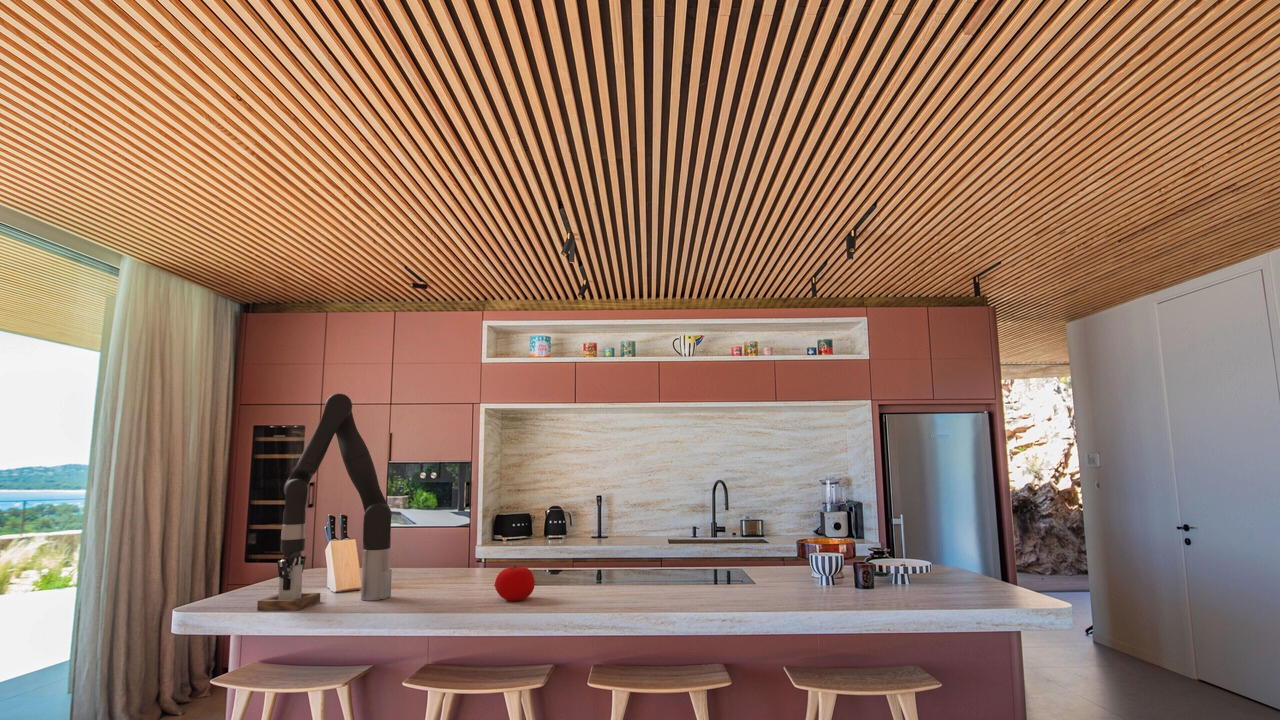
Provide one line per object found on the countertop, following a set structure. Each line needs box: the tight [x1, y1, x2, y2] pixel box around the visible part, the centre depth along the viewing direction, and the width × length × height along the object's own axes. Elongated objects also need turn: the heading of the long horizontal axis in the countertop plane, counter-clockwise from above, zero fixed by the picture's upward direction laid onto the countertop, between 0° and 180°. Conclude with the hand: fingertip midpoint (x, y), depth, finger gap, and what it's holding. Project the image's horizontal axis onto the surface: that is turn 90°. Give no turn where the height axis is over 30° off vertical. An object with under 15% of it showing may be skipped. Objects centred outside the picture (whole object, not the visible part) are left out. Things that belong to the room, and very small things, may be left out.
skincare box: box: [278, 565, 303, 600], centre depth 240 cm, size 6×4×12 cm
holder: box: [256, 592, 321, 612], centre depth 239 cm, size 14×14×3 cm
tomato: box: [494, 564, 536, 602], centre depth 246 cm, size 13×14×12 cm
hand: (290, 588), depth 240 cm, fingers closed on skincare box, 4 cm apart
